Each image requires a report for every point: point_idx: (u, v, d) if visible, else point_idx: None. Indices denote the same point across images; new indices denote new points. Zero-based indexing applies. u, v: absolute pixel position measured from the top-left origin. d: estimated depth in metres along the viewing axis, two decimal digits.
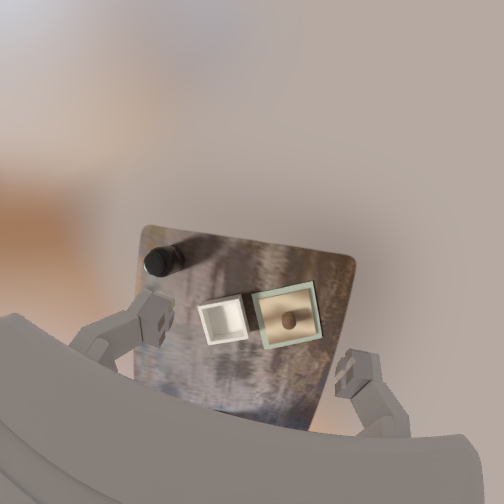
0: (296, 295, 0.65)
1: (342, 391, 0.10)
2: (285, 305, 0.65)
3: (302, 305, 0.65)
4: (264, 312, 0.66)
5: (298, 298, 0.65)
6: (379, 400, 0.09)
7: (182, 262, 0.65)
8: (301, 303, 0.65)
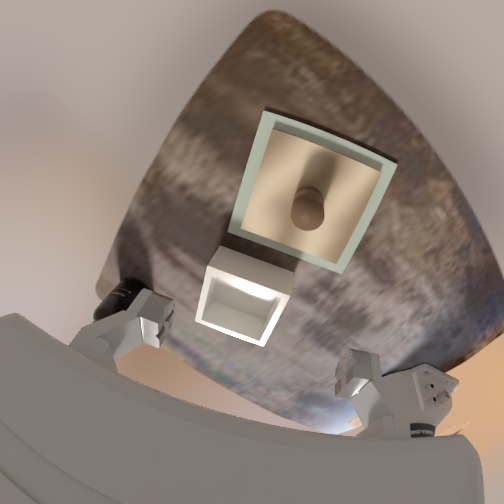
0: (271, 158, 0.27)
1: (342, 391, 0.10)
2: (279, 190, 0.29)
3: (300, 158, 0.27)
4: (270, 233, 0.32)
5: (280, 158, 0.27)
6: (379, 400, 0.09)
7: (136, 291, 0.40)
8: (294, 158, 0.27)
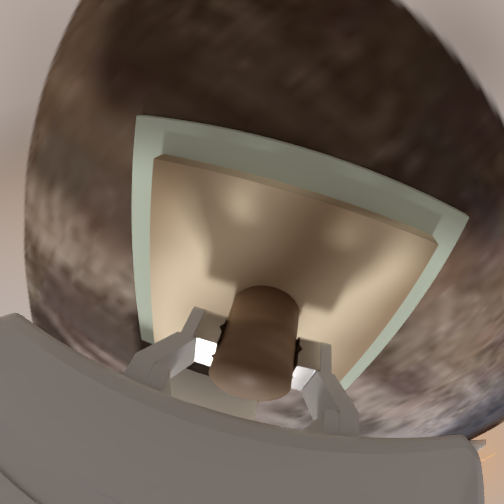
0: (167, 228, 0.12)
1: None
2: (200, 292, 0.13)
3: (232, 225, 0.11)
4: None
5: (185, 227, 0.11)
6: (326, 392, 0.09)
7: None
8: (218, 226, 0.11)
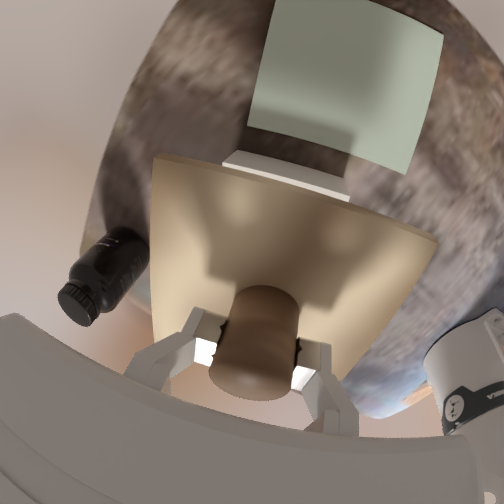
0: (167, 228, 0.12)
1: None
2: (200, 292, 0.13)
3: (232, 224, 0.11)
4: None
5: (185, 226, 0.11)
6: (325, 392, 0.09)
7: (125, 239, 0.29)
8: (218, 225, 0.11)
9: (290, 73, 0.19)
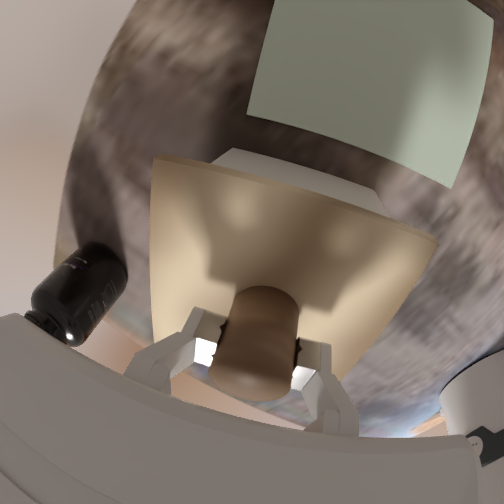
0: (167, 228, 0.12)
1: None
2: (200, 292, 0.13)
3: (232, 225, 0.11)
4: None
5: (185, 227, 0.11)
6: (326, 392, 0.09)
7: (96, 259, 0.23)
8: (218, 226, 0.11)
9: (308, 45, 0.13)
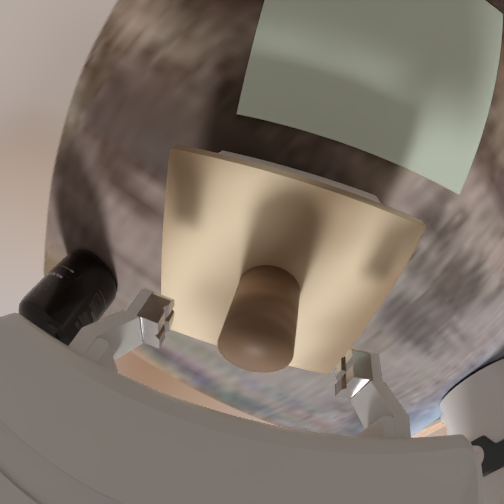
0: (180, 212, 0.13)
1: (342, 391, 0.10)
2: (208, 272, 0.14)
3: (240, 208, 0.12)
4: (209, 336, 0.17)
5: (197, 210, 0.13)
6: (379, 400, 0.09)
7: (83, 268, 0.21)
8: (227, 209, 0.12)
9: (304, 37, 0.11)
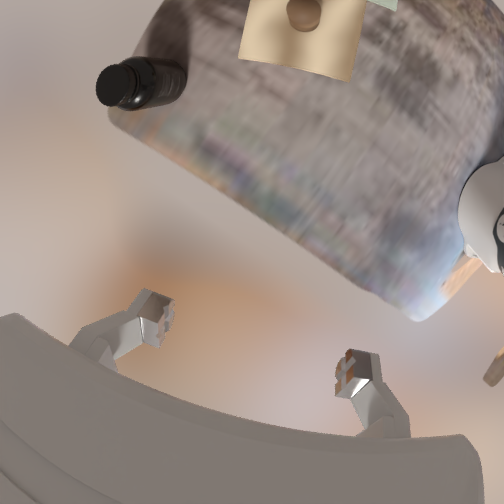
0: None
1: (342, 391, 0.10)
2: (273, 14, 0.20)
3: None
4: (270, 56, 0.23)
5: None
6: (379, 400, 0.09)
7: (168, 60, 0.27)
8: None
9: None
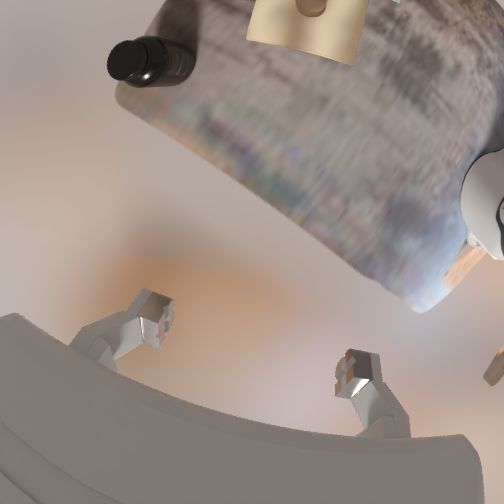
0: None
1: (342, 391, 0.10)
2: (281, 0, 0.20)
3: None
4: (277, 38, 0.23)
5: None
6: (379, 400, 0.09)
7: None
8: None
9: None
